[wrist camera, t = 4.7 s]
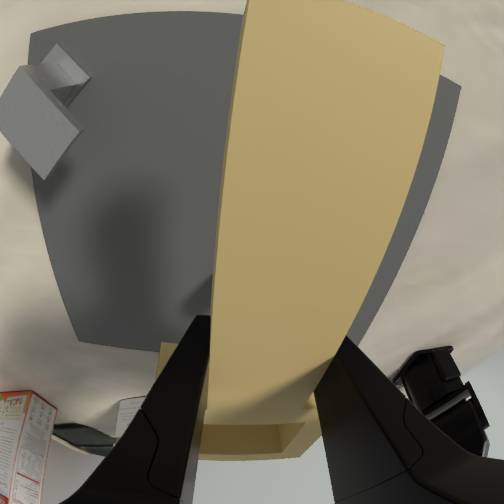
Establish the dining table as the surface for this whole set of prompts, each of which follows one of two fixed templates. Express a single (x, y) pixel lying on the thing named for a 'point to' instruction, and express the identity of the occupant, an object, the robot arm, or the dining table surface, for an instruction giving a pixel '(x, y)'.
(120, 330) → the mat
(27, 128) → the keeper
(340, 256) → the link
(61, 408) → the dining table surface
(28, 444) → the cracker box
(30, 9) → the dining table surface
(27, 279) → the dining table surface
